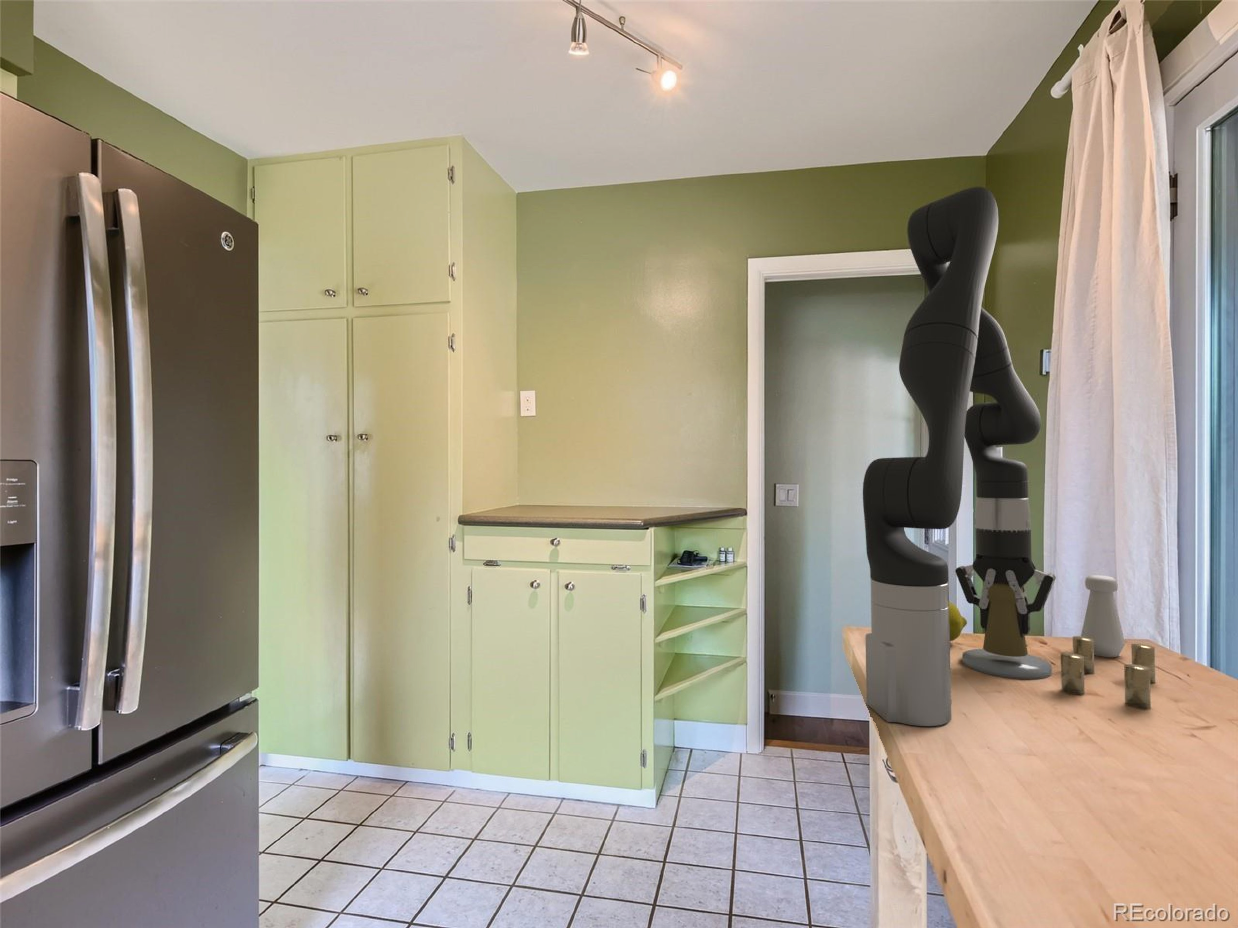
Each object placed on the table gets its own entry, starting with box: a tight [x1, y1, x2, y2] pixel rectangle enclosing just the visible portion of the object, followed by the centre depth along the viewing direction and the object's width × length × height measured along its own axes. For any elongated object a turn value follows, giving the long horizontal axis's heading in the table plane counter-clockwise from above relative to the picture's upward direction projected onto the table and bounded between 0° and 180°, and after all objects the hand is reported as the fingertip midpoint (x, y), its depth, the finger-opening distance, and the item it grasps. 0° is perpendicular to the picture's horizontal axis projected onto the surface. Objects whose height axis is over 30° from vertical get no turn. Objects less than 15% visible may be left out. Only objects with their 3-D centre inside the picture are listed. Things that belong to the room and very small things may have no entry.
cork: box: [982, 583, 1029, 657], centre depth 97 cm, size 6×6×11 cm
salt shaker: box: [1080, 574, 1126, 658], centre depth 103 cm, size 6×6×13 cm
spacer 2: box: [1072, 635, 1095, 675], centre depth 94 cm, size 3×3×5 cm
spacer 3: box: [1131, 643, 1156, 684], centre depth 90 cm, size 3×3×5 cm
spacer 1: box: [1060, 652, 1086, 696], centre depth 86 cm, size 3×3×5 cm
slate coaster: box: [961, 648, 1053, 680], centre depth 97 cm, size 12×12×1 cm
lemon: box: [949, 601, 968, 642], centre depth 111 cm, size 11×8×8 cm
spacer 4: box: [1123, 663, 1152, 710], centre depth 81 cm, size 3×3×5 cm
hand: (1004, 633), depth 97 cm, fingers closed on cork, 4 cm apart
